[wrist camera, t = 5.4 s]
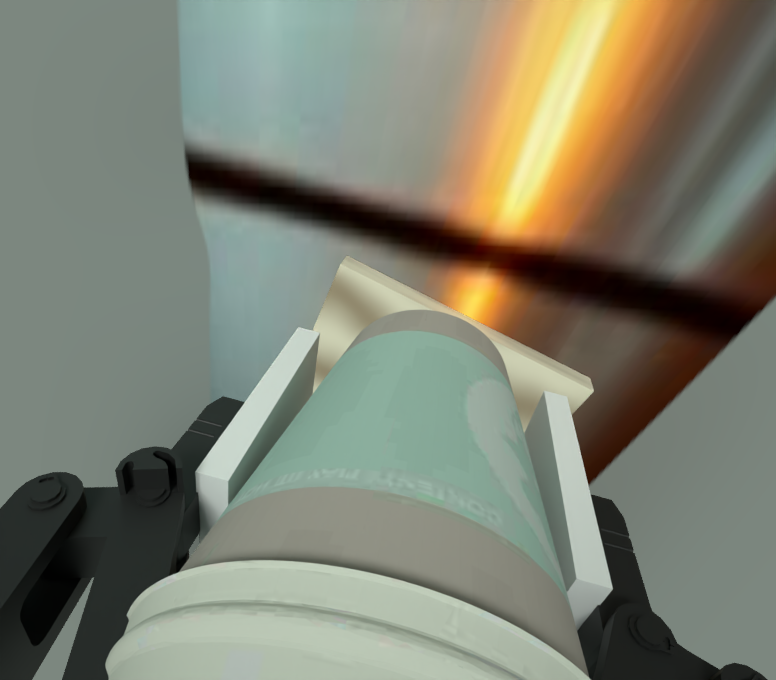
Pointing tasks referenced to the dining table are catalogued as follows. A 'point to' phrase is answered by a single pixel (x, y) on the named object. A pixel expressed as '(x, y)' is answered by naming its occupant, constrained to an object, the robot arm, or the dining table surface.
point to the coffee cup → (376, 536)
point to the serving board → (386, 296)
